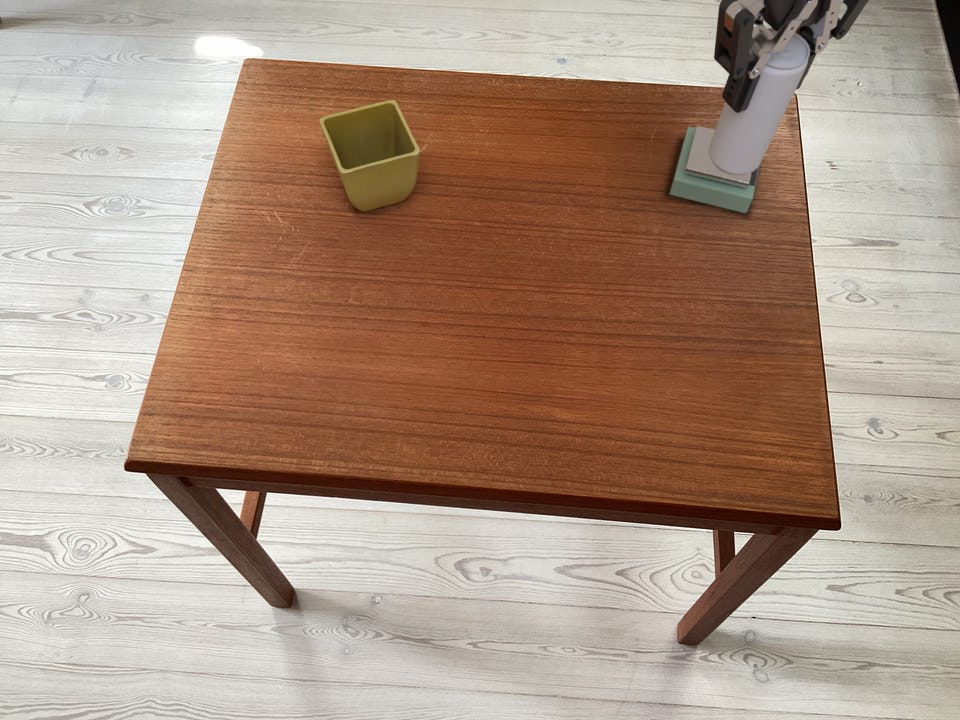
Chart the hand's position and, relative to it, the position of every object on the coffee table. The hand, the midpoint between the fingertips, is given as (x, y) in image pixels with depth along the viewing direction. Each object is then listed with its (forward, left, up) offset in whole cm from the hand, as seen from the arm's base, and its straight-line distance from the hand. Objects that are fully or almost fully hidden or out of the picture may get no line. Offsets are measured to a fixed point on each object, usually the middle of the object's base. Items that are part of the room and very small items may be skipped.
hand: (760, 94), depth 63 cm
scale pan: (0, -15, -22) cm, 26 cm away
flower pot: (+37, 0, -25) cm, 44 cm away
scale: (0, -15, -25) cm, 29 cm away
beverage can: (0, 0, -8) cm, 8 cm away
